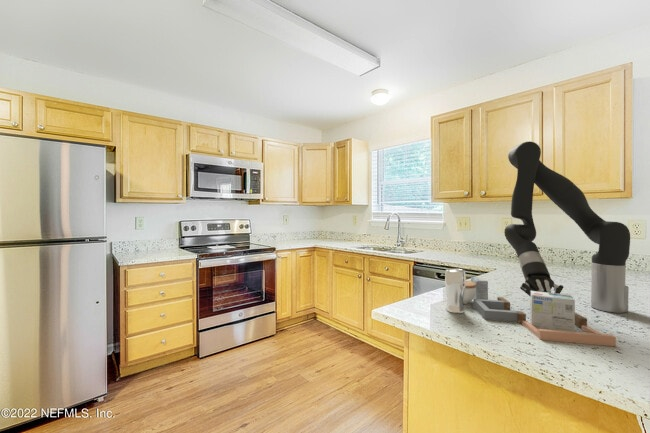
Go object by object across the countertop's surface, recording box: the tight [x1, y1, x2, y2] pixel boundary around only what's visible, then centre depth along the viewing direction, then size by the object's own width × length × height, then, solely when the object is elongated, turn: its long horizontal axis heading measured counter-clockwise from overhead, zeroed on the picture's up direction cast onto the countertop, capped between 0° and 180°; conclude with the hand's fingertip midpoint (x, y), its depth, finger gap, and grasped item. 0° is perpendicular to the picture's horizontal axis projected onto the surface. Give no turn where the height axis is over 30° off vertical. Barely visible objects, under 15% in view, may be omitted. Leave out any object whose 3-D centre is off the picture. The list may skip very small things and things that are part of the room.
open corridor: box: [496, 296, 588, 329], centre depth 103 cm, size 19×20×3 cm
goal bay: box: [521, 320, 617, 347], centre depth 86 cm, size 18×12×2 cm, turn 77°
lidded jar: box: [463, 280, 476, 305], centre depth 119 cm, size 11×11×9 cm
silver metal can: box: [444, 268, 467, 314], centre depth 107 cm, size 7×7×15 cm
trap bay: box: [472, 298, 518, 323], centre depth 104 cm, size 10×14×3 cm
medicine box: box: [470, 276, 489, 300], centre depth 122 cm, size 8×4×9 cm, turn 168°
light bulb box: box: [529, 291, 576, 332], centre depth 91 cm, size 11×7×11 cm, turn 59°
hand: (550, 311), depth 94 cm, fingers closed
